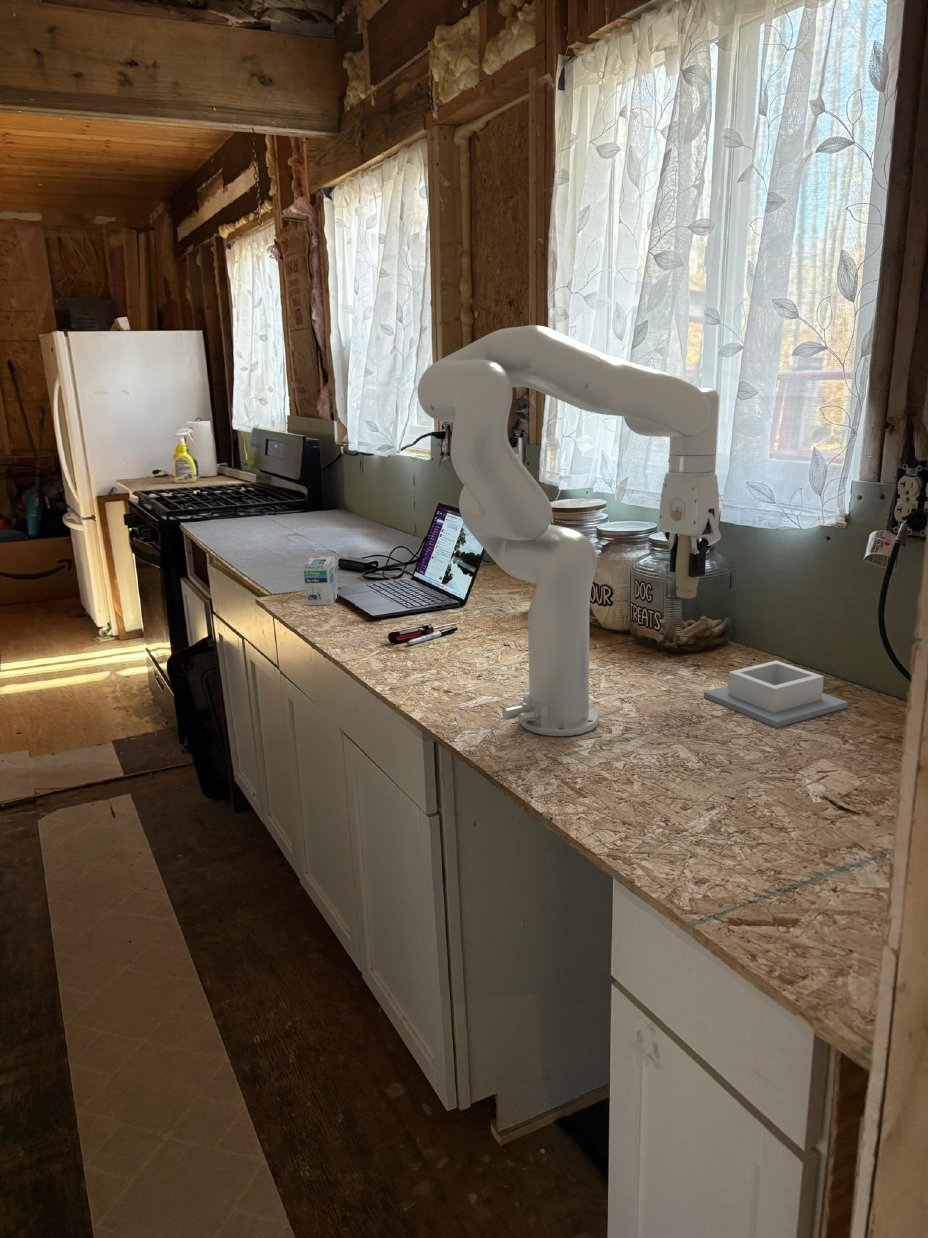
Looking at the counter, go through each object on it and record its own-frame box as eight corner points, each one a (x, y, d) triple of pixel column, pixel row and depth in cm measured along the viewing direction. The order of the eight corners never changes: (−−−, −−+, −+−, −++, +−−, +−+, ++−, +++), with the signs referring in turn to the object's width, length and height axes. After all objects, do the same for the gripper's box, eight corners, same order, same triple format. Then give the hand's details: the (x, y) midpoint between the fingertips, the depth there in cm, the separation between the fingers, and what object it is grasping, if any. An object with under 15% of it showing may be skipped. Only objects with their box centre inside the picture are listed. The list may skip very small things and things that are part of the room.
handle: (710, 598, 149) (714, 510, 145) (676, 601, 147) (679, 513, 143) (696, 592, 153) (700, 507, 149) (662, 595, 152) (666, 509, 148)
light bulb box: (332, 605, 219) (329, 563, 217) (305, 606, 220) (302, 564, 217) (338, 595, 230) (336, 555, 227) (313, 596, 230) (310, 555, 227)
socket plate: (776, 728, 135) (778, 697, 134) (703, 697, 149) (704, 669, 148) (847, 707, 142) (849, 678, 141) (771, 680, 156) (773, 653, 155)
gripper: (641, 463, 150) (638, 568, 154) (710, 470, 135) (704, 585, 140) (675, 460, 153) (671, 563, 158) (746, 467, 139) (739, 579, 144)
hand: (687, 572), depth 149 cm, fingers closed on handle, 3 cm apart
